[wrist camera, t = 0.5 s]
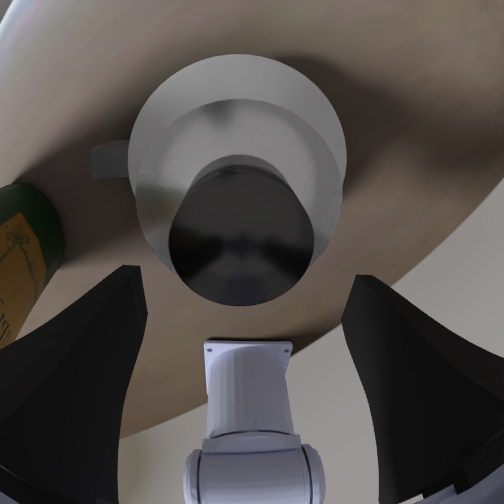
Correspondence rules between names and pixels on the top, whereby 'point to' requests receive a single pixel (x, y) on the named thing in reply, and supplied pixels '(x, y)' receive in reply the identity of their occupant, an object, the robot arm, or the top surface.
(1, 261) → the bottle
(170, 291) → the top surface
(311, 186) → the knobbed lid
